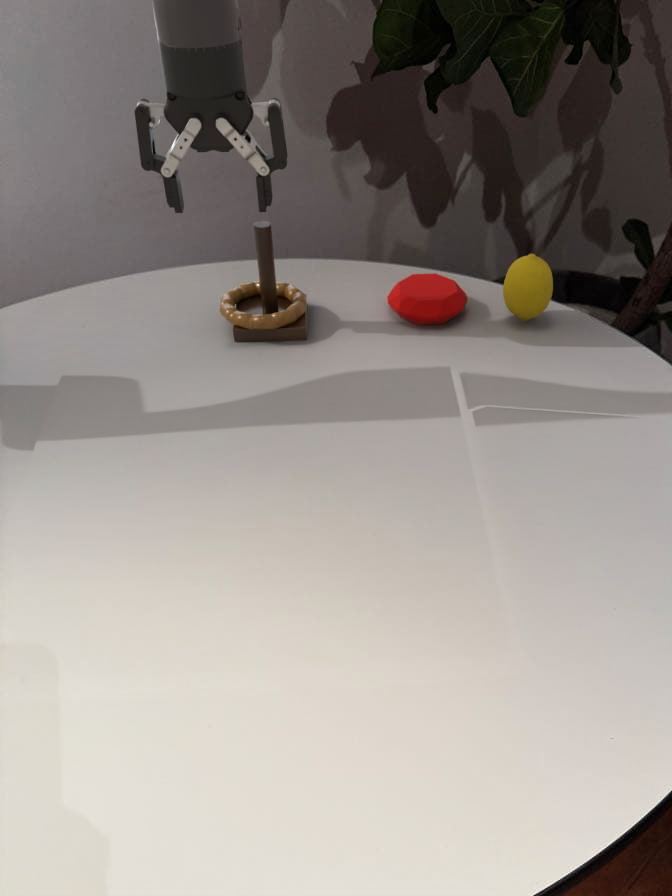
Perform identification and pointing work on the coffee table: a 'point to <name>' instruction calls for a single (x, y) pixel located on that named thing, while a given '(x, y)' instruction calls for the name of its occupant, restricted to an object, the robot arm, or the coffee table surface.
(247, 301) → the peg stand
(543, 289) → the lemon
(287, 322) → the ring
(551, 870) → the coffee table surface
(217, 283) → the coffee table surface
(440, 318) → the gemstone
